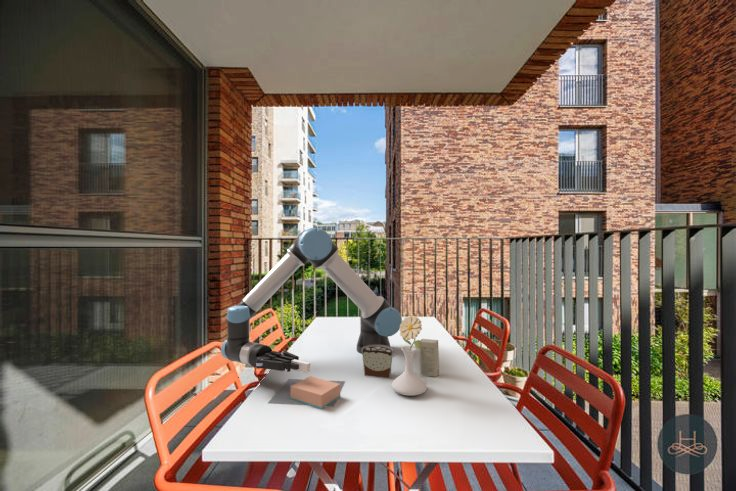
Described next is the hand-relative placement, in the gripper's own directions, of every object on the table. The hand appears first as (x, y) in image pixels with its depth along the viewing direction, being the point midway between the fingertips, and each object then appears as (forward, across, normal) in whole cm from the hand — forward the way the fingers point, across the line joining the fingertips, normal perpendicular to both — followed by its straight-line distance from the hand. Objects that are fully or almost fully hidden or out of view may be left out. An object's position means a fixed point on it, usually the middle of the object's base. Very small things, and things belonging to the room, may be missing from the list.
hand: (308, 367), depth 103 cm
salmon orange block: (-3, 0, -7) cm, 8 cm away
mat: (-2, -3, -9) cm, 10 cm away
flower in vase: (+25, -20, -10) cm, 33 cm away
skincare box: (+24, -38, -10) cm, 46 cm away
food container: (+9, -28, -10) cm, 31 cm away
